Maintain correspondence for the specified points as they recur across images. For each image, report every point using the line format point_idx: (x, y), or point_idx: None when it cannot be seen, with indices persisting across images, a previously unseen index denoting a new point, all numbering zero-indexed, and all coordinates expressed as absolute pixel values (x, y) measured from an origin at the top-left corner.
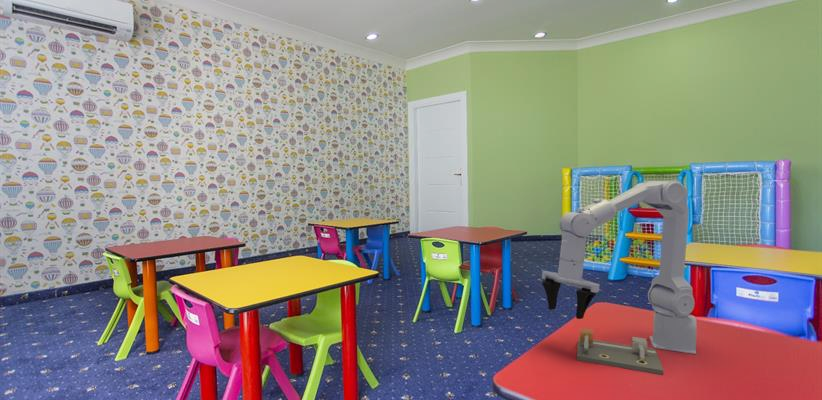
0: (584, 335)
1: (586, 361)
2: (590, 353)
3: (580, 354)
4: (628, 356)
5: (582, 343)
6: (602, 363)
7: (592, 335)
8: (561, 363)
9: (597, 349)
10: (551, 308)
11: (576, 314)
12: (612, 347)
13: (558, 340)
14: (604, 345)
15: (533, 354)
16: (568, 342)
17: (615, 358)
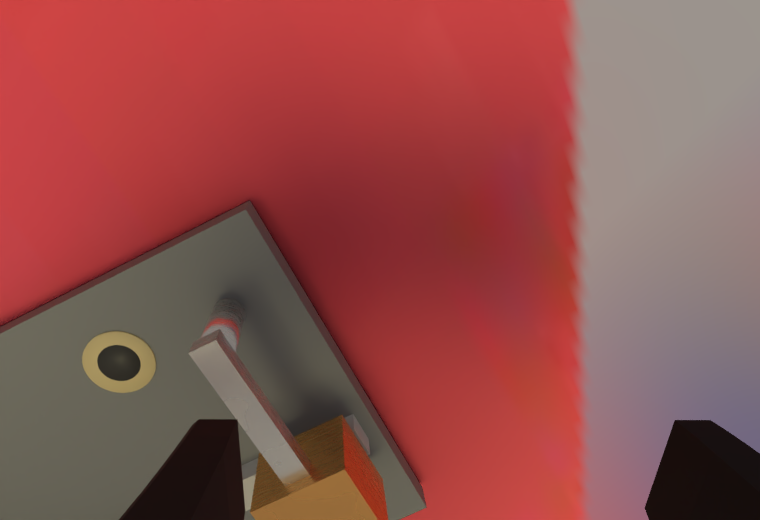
0: (313, 465)
1: (189, 232)
2: None
3: (244, 255)
4: (27, 485)
5: None
6: (91, 283)
7: (255, 498)
8: (295, 54)
9: None
10: (680, 443)
11: (218, 455)
12: None
13: (527, 408)
14: None
15: (540, 26)
16: (462, 429)
17: (51, 392)
